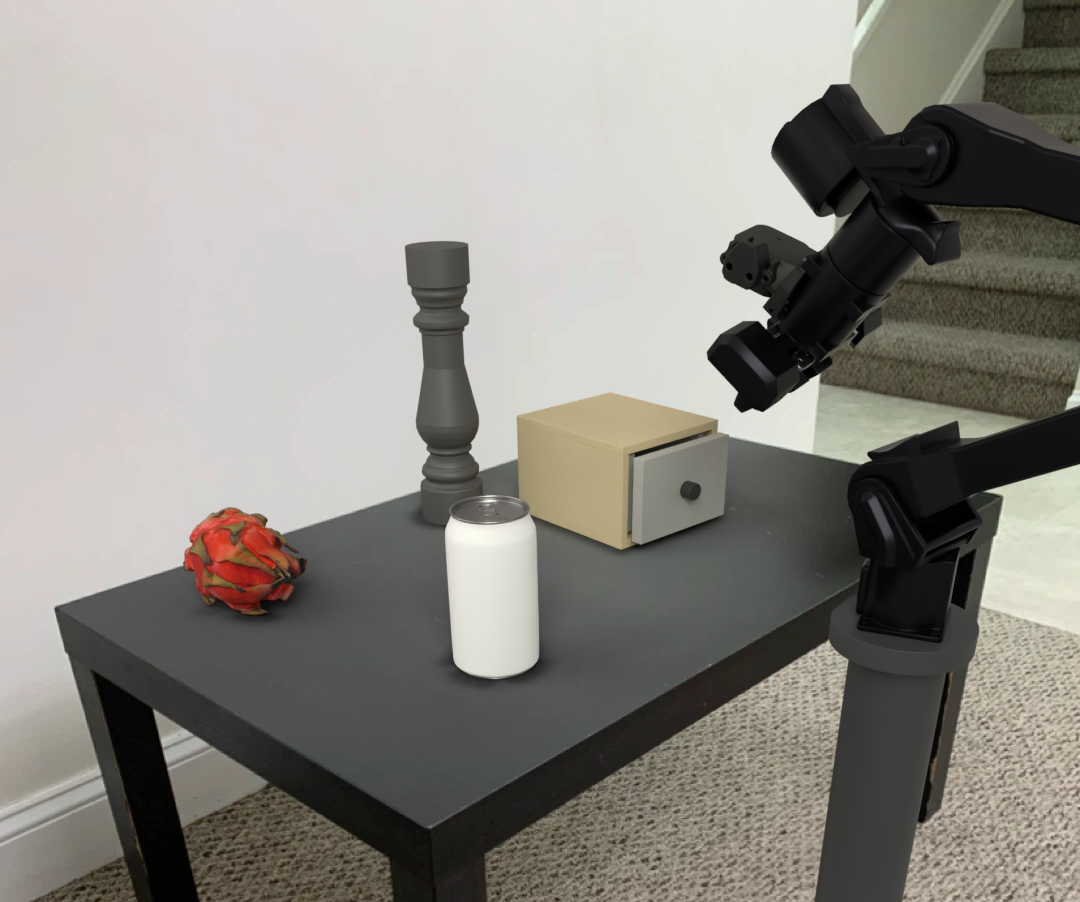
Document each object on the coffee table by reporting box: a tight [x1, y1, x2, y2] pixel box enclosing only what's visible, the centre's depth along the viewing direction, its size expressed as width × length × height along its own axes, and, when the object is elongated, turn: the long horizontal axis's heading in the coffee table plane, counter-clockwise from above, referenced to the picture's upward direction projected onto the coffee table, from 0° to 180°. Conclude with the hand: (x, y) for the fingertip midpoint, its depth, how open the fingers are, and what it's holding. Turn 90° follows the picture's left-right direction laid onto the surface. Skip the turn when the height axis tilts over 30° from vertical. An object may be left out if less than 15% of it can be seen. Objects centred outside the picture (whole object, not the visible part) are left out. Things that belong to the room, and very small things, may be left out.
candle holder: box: [404, 240, 484, 526], centre depth 103 cm, size 6×6×25 cm
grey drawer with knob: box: [627, 431, 730, 546], centre depth 104 cm, size 15×11×8 cm
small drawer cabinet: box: [516, 391, 719, 551], centre depth 106 cm, size 15×13×10 cm
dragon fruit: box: [182, 506, 308, 616], centre depth 90 cm, size 8×8×12 cm
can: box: [444, 494, 540, 681], centre depth 79 cm, size 6×6×12 cm
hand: (739, 407), depth 92 cm, fingers closed
